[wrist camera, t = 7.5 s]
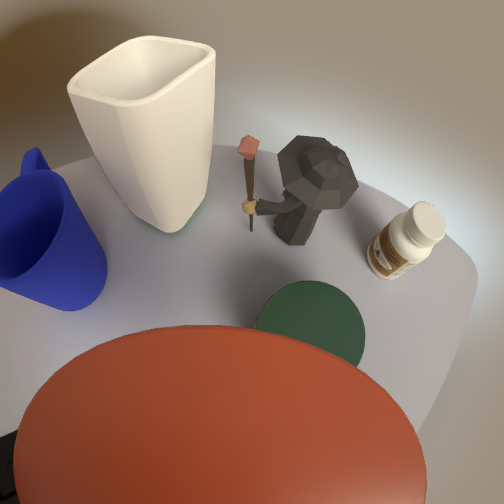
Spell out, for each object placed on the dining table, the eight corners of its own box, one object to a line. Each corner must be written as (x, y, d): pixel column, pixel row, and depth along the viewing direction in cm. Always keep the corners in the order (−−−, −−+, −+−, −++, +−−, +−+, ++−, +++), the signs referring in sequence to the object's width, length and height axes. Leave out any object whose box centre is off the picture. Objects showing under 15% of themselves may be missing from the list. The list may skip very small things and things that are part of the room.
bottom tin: (347, 380, 21) (373, 379, 17) (254, 396, 20) (262, 401, 16) (333, 293, 24) (354, 275, 20) (244, 301, 23) (249, 284, 19)
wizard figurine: (299, 194, 28) (337, 97, 17) (333, 239, 26) (396, 153, 15) (224, 231, 25) (228, 127, 15) (258, 284, 24) (290, 202, 13)
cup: (221, 191, 27) (227, 48, 14) (178, 252, 24) (140, 111, 11) (161, 163, 28) (138, 33, 14) (116, 216, 25) (55, 88, 12)
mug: (104, 192, 26) (69, 119, 17) (128, 305, 22) (74, 257, 13) (38, 220, 24) (-11, 161, 15) (50, 332, 20) (-25, 301, 11)
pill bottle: (358, 243, 26) (398, 198, 19) (392, 235, 27) (434, 193, 20) (375, 286, 25) (424, 251, 18) (409, 274, 26) (458, 240, 18)
